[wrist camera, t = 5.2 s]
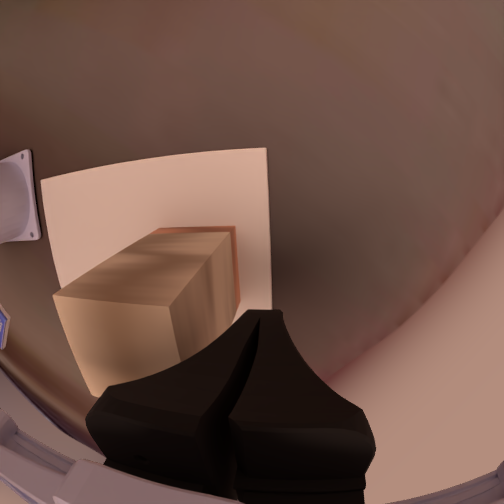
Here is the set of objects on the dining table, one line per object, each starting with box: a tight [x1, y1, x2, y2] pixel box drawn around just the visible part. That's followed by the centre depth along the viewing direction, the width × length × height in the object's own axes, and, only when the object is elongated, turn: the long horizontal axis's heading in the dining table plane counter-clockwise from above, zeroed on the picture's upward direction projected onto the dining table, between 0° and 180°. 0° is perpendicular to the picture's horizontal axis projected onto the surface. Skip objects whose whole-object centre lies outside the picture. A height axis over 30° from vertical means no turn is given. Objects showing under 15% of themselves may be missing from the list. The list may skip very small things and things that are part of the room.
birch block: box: [53, 226, 241, 397], centre depth 14 cm, size 5×5×10 cm
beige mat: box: [41, 148, 272, 324], centre depth 20 cm, size 18×14×1 cm
